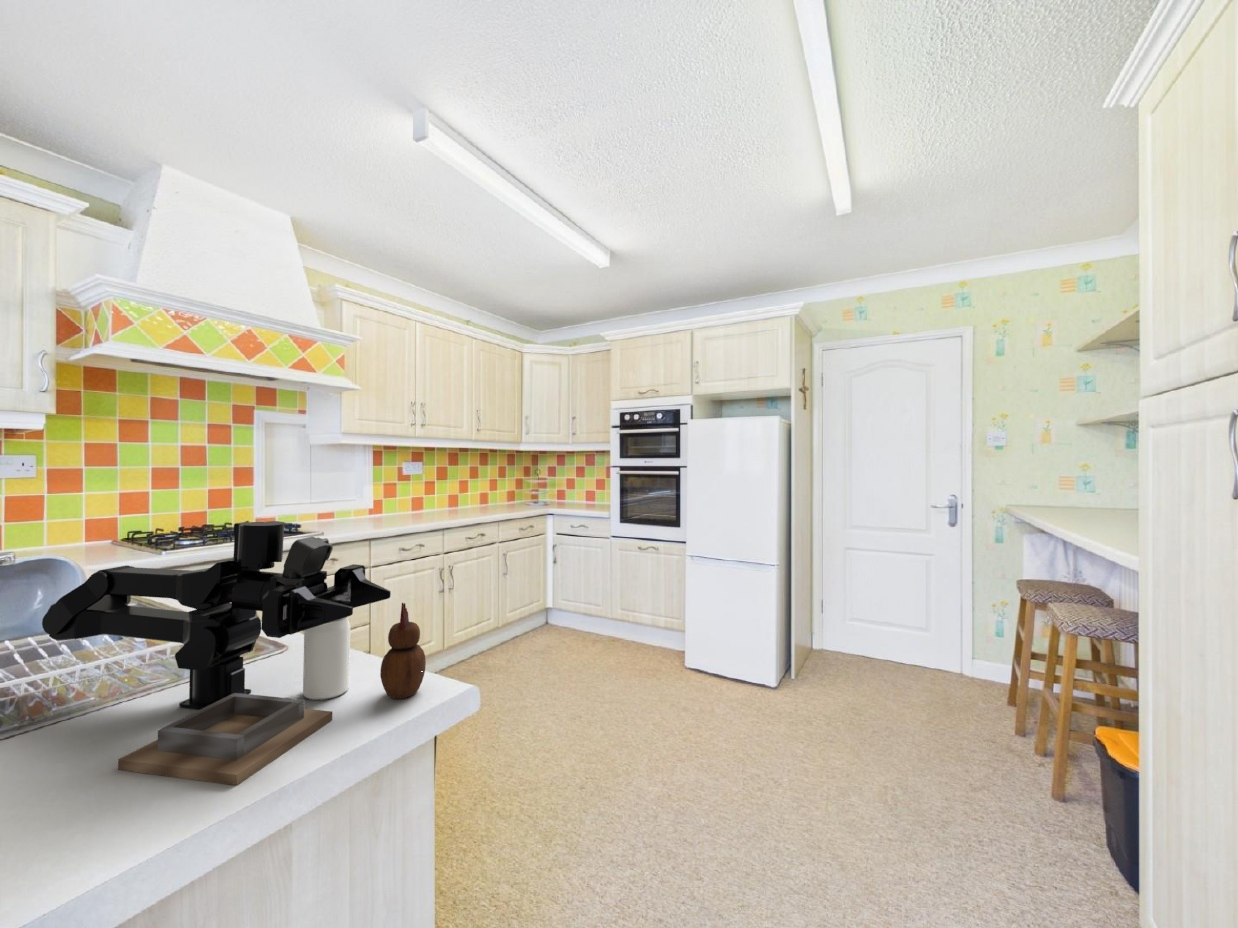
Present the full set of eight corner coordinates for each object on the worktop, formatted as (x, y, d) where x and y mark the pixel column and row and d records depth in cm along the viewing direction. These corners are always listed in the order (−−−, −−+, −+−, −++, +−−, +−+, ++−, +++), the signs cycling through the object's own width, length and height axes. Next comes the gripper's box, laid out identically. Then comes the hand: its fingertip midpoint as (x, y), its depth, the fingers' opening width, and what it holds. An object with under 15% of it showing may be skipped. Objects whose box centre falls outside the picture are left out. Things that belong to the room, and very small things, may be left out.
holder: (118, 769, 64) (118, 738, 64) (233, 709, 80) (234, 684, 80) (237, 785, 62) (237, 752, 62) (332, 719, 78) (332, 693, 78)
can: (358, 686, 89) (359, 613, 89) (328, 703, 83) (330, 624, 83) (324, 681, 91) (325, 609, 91) (292, 698, 84) (294, 620, 84)
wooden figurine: (407, 705, 83) (409, 606, 83) (373, 700, 84) (375, 603, 84) (431, 687, 90) (433, 595, 90) (399, 683, 91) (401, 593, 91)
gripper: (224, 549, 72) (331, 559, 70) (321, 530, 91) (408, 537, 88) (220, 632, 72) (327, 645, 70) (318, 597, 91) (405, 606, 89)
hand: (372, 602), depth 79 cm, fingers open, 9 cm apart
